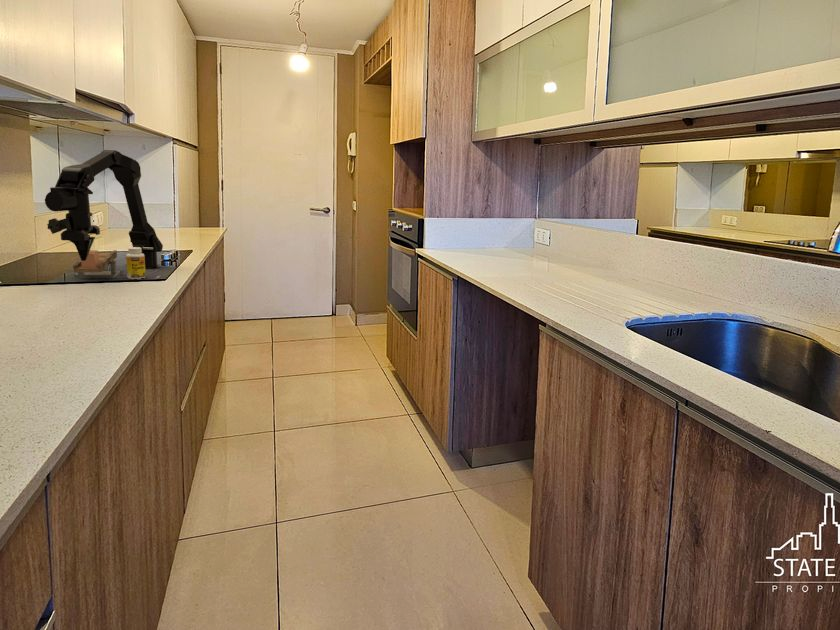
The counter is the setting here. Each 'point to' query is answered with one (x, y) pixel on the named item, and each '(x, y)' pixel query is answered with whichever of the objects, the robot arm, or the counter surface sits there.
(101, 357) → the counter surface
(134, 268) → the supplement bottle
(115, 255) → the brown tray
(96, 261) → the rider block
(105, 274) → the pivot stand
